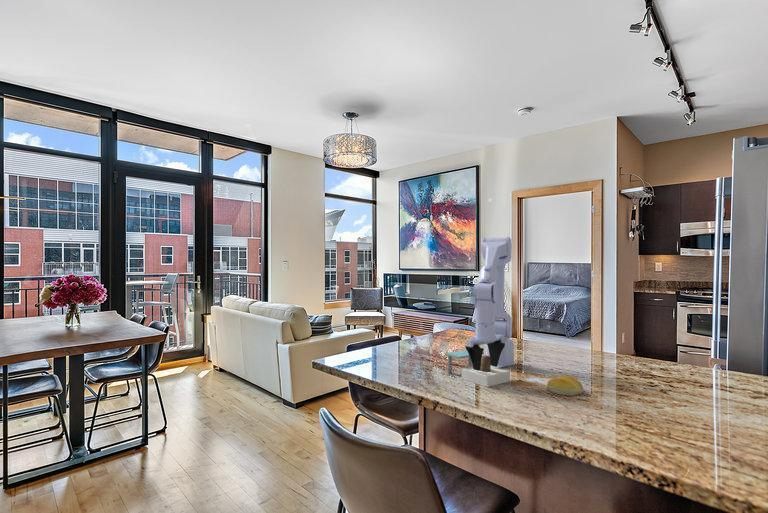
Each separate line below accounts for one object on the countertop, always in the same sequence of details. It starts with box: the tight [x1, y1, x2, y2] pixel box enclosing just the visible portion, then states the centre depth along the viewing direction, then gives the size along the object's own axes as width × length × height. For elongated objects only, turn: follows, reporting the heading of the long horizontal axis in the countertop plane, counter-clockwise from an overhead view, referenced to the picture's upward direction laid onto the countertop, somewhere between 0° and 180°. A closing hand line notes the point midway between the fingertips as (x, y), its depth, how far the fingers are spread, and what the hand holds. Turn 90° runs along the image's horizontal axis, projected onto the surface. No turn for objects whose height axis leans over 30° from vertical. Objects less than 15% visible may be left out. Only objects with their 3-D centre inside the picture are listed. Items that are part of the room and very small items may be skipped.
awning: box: [445, 349, 485, 375], centre depth 127 cm, size 11×6×6 cm, turn 124°
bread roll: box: [546, 375, 585, 396], centre depth 109 cm, size 8×9×4 cm
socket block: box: [461, 365, 511, 388], centre depth 119 cm, size 10×10×3 cm
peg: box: [481, 355, 491, 372], centre depth 119 cm, size 3×3×7 cm
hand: (485, 367), depth 119 cm, fingers open, 7 cm apart
